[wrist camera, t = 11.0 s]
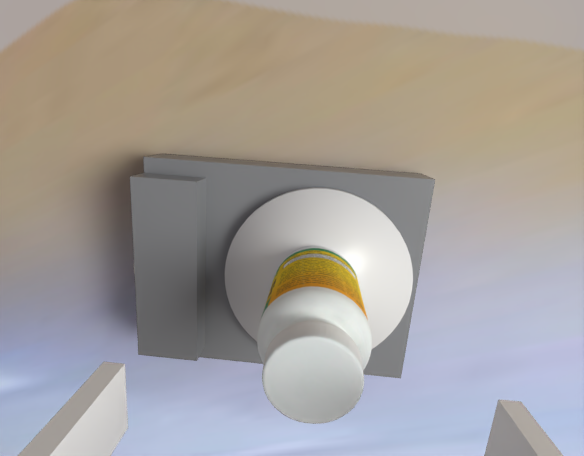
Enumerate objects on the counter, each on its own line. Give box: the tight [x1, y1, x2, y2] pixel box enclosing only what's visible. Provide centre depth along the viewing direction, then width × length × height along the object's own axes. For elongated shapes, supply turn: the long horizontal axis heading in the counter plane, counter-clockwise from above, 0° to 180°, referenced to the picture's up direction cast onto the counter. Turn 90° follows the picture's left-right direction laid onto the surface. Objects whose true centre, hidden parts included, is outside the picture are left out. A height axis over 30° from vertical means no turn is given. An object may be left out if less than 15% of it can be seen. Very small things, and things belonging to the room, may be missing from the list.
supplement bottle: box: [257, 247, 372, 424], centre depth 19 cm, size 5×5×10 cm
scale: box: [130, 154, 435, 378], centre depth 25 cm, size 18×14×5 cm
